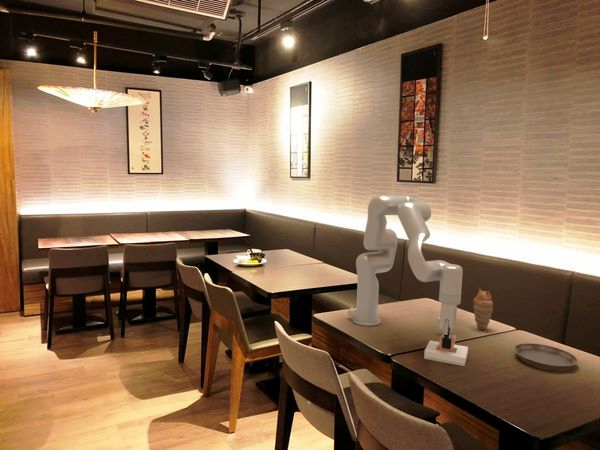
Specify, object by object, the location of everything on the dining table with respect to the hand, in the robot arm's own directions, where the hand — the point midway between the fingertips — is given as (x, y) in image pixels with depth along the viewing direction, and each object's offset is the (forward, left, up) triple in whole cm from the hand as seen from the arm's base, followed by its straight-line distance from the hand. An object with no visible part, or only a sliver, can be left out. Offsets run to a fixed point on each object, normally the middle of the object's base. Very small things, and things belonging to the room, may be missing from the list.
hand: (446, 346), depth 172 cm
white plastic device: (-4, +25, -4) cm, 26 cm away
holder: (0, 0, -4) cm, 4 cm away
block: (-1, 0, -2) cm, 2 cm away
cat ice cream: (+10, +39, -4) cm, 40 cm away
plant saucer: (+33, +13, -4) cm, 36 cm away
